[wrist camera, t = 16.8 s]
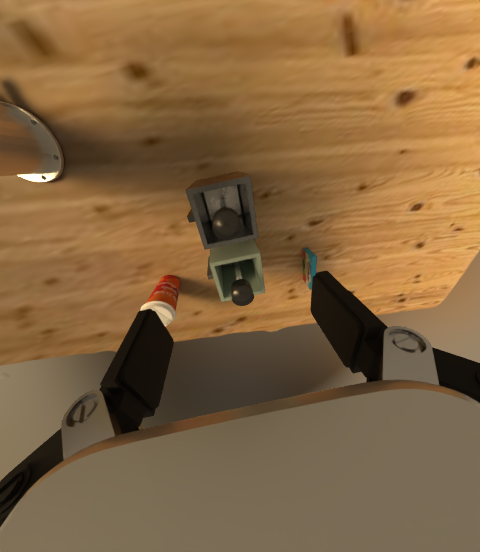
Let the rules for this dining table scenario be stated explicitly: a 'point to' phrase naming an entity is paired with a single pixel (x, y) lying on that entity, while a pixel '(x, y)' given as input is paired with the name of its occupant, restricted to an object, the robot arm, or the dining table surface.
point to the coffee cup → (164, 299)
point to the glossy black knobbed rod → (240, 287)
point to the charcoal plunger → (224, 211)
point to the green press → (227, 273)
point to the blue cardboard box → (309, 266)
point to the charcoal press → (202, 214)
